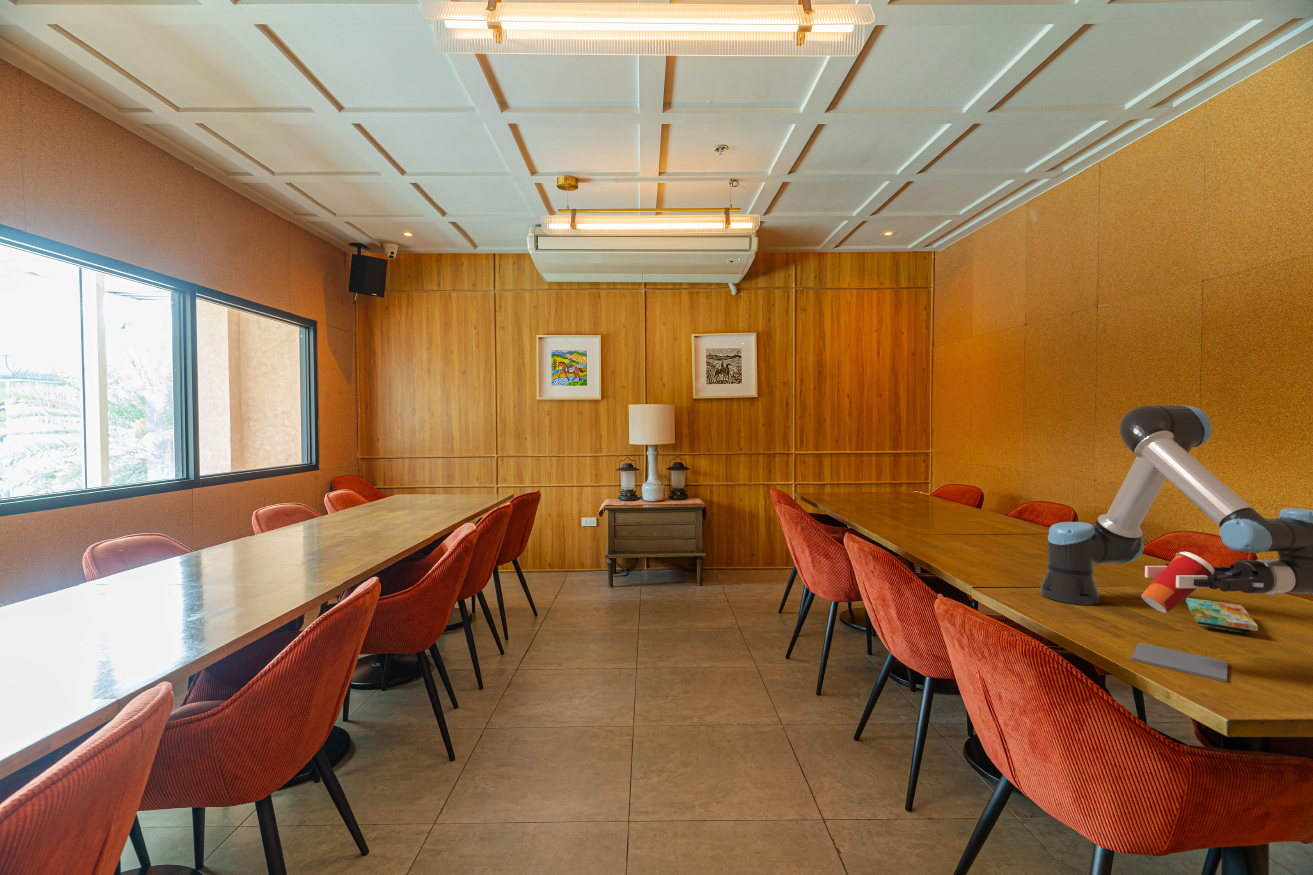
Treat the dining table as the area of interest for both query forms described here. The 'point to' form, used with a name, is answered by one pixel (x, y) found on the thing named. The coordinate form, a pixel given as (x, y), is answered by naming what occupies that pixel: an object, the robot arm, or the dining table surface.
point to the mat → (1181, 661)
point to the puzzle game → (1221, 615)
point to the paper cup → (1164, 586)
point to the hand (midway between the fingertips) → (1161, 576)
